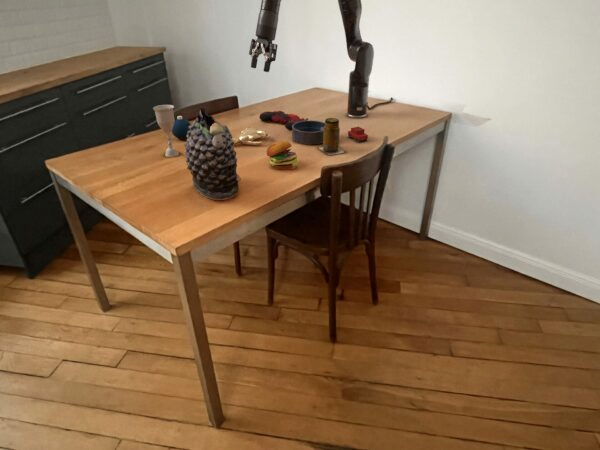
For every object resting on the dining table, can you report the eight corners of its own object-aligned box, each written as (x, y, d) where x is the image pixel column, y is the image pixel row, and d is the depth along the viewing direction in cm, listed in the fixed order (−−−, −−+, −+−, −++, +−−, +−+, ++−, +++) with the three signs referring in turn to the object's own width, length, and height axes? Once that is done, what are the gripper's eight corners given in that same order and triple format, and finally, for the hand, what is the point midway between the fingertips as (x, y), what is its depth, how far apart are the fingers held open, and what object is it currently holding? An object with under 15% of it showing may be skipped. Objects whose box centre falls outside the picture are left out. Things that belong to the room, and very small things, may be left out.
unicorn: (246, 141, 154) (214, 136, 163) (247, 151, 156) (216, 145, 165) (278, 127, 168) (248, 122, 177) (279, 136, 170) (249, 131, 179)
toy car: (347, 137, 171) (348, 127, 169) (356, 135, 173) (357, 125, 171) (358, 143, 165) (359, 132, 163) (367, 141, 167) (368, 130, 165)
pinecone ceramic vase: (252, 195, 126) (246, 116, 113) (207, 209, 119) (195, 126, 106) (222, 172, 141) (214, 100, 128) (180, 183, 133) (167, 107, 120)
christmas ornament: (188, 142, 166) (184, 118, 160) (169, 141, 167) (165, 117, 162) (196, 135, 173) (193, 112, 167) (178, 134, 174) (174, 111, 169)
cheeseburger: (289, 173, 140) (282, 145, 135) (265, 174, 146) (258, 147, 141) (304, 163, 147) (298, 136, 143) (280, 164, 153) (274, 138, 149)
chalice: (164, 159, 151) (154, 111, 141) (160, 153, 156) (151, 106, 147) (183, 155, 154) (175, 108, 144) (179, 149, 159) (171, 103, 149)
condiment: (334, 145, 163) (335, 116, 157) (345, 152, 156) (347, 122, 150) (318, 148, 160) (318, 118, 154) (328, 155, 154) (329, 124, 147)
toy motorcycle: (293, 135, 176) (318, 122, 184) (292, 124, 173) (317, 111, 181) (257, 124, 192) (281, 112, 200) (255, 114, 188) (280, 102, 196)
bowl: (303, 130, 178) (304, 118, 175) (334, 136, 172) (335, 124, 169) (285, 141, 167) (284, 128, 164) (317, 148, 160) (317, 134, 158)
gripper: (286, 29, 151) (278, 74, 157) (263, 25, 160) (256, 68, 166) (270, 24, 146) (262, 71, 152) (248, 20, 155) (241, 65, 161)
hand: (259, 69), depth 159 cm, fingers open, 8 cm apart
